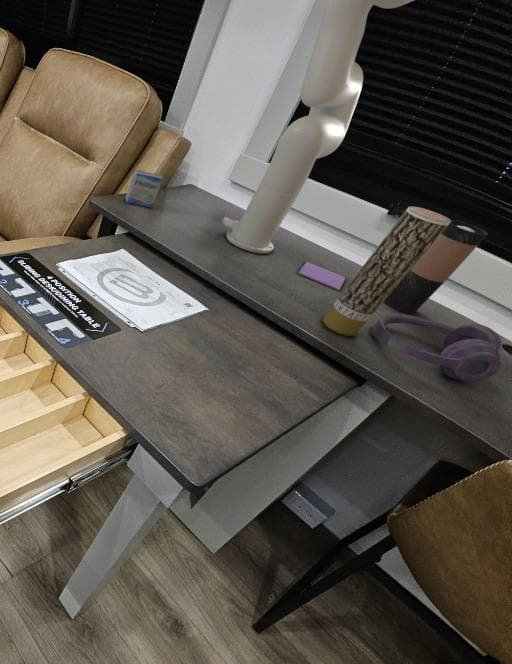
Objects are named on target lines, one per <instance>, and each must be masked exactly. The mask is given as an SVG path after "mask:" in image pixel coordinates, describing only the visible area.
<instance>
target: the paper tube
mask: <svg viewBox="0 0 512 664" xmlns="http://www.w3.org/2000/svg"><path fill="white" fill-rule="evenodd" d="M451 220H452V219H450V218H449V217H447V216H445V215H443V214H441V213H438V212H436V211H433V210H430V209H426V208H424V207H419V206H408V207H407V208H406V210H405V211H403V213H402V214H401V216H400V217H399V219H398V220H397V221H396V222H395V224H394V225H393V226H392V228H391V229H390V231H389V232H388V233H387V234H386V236H385V237H384V238H383V239H382V240H381V242H380V243H379V245H378V246H377V247H376V248H375V250H374V251H373V253H372V254H371V255H370V256H369V258H368V259H367V260H366V261H365V263H364V264H363V265H362V266H361V268H360V270H359V271H358V272H357V273H356V274H355V276H354V277H353V279H352V280H351V281H350V283H349V284H348V285H347V286H346V287H345V289H344V290H343V292H342V293H341V294H340V296H339V297H338V298H337V300H336V301H335V302H334V304H333V305H332V306H331V308H330V309H329V310H328V312H327V313H326V314H325V316H324V317H323V318H322V323H323V325H324V326H325V327H326V328H328V329H329V330H330V331H332V332H333V333H336V334H339V335H340V336H341V335H342V336H346V337H351V336H354V335H356V334H357V333H358V332H359V331H360V330H361V329H362V328H363V326H365V324H366V323H367V322H368V320H370V318H371V317H372V316H373V315H374V313H375V312H377V310H378V309H379V308H380V306H381V305H383V303H385V301H384V300H385V299H386V298H387V297H388V296H389V295H390V293H391V292H392V291H393V290H394V289H395V288H396V286H397V285H398V284H399V283H400V282H401V280H402V279H403V278H404V277H405V276H406V275H407V273H408V272H409V271H410V270H411V269H412V267H413V266H414V265H415V264H416V263H417V262H418V260H419V259H420V258H421V257H422V256H423V254H424V253H425V252H426V251H427V250H428V249H429V247H430V246H431V245H432V244H433V243H434V242H435V240H436V239H437V238H438V237H439V236H440V234H441V233H442V232H443V231H444V230H445V229H446V227H447V226H448V225H449V223H450V222H451Z"/></svg>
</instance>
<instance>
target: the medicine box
mask: <svg viewBox="0 0 512 664" xmlns="http://www.w3.org/2000/svg"><path fill="white" fill-rule="evenodd" d="M131 177H132V178H131V181H130V184H129V185H128V189H127V193H126V195H125V202H126V204H129V205H133V206H138V207H143V208H147V209H152V208H153V206H154V203H155V200H156V198H157V196H158V193H159V191H160V187H161V185H162V182H163V176H162V174H158V173H152V172H150V171H149V172H148V171H144V170H140V169H134V172H133V175H132V176H131Z"/></svg>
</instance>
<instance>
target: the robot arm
mask: <svg viewBox="0 0 512 664" xmlns="http://www.w3.org/2000/svg"><path fill="white" fill-rule="evenodd" d="M414 1H415V0H327V3H326V6H325V8H324V11H323V14H322V19H321V22H320V25H319V29H318V32H317V36H316V39H315V42H314V45H313V47H312V51H311V55H310V58H309V61H308V65H307V68H306V71H305V73H304V78H303V81H302V83H301V88H300V92H299V93H300V99H301V102H302V103H303V104H304V105H305V106H306V107H309V108H310V110H309V113H308V115H305V116H303V117H299V118H298V119H296V120H294V121H293V122H292V123H291V124H290V125H288V126H287V127H286V128H285V130H283V133H282V134H281V136H280V138H279V140H278V142H277V145H276V147H275V151H274V153H273V155H272V157H271V160H270V162H269V165H268V167H267V168H266V171H265V172H264V175H263V176H262V179H260V180H261V181H260V183H259V185H258V186H257V188H256V190H255V192H254V194H253V196H252V198H251V200H250V202H249V204H248V206H247V208H246V210H245V211H244V213H243V215H242V217H241V219H240V220H238V219H236V220H234V219H232V218H230V217H227V216H224V217H223V219H222V221H221V225H222V226H223V227H224V228H228V229H230V230H228V231H227V232H226V236H225V237H226V239H227V241H228V242H230V243H231V244H232V245H234V246H236V247H238V248H240V249H242V250H245V251H248V252H251V253H253V254H254V253H255V254H260V255H267V254H270V253H272V252H273V250H274V248H275V247H274V244H273V243H272V240H273V238H274V237H275V235H276V233H277V231H278V230H279V228H280V227H281V225H282V223H283V221H284V220H285V218H286V216H287V215H288V213H289V211H290V209H291V208H292V206H293V205H294V203H295V201H296V200H297V197H298V196H299V194H300V192H301V191H302V190H303V187H304V186H305V184H306V182H307V180H308V178H309V176H310V174H311V171H312V169H313V167H314V165H315V162H316V161H317V159H321V158H324V157H327V156H329V155H330V154H332V153H333V152H335V151H336V150H337V149H338V148H339V147H340V145H341V144H342V142H343V140H344V139H345V136H346V134H347V131H348V129H349V126H350V122H351V120H352V117H353V115H354V113H355V112H354V111H355V109H356V107H357V104H358V100H359V98H360V95H361V92H362V88H363V83H364V72H363V69H362V67H361V66H360V65H359V64H358V63H357V62H356V56H357V54H358V51H359V48H360V46H361V42H362V40H363V36H364V33H365V29H366V24H367V19H368V15H369V12H370V11H371V9H372V7H373V6H376V7H378V8H381V9H396V8H398V7H402V6H404V5H407V4H409V3H411V2H414Z"/></svg>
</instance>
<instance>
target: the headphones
mask: <svg viewBox="0 0 512 664" xmlns="http://www.w3.org/2000/svg"><path fill="white" fill-rule="evenodd" d="M390 324H391V325H392V324H408V325H414V326H415V325H416V326H421V327H425V328H426V329H428V330H429V329H430V330H433V331H435V332H439V333H441V334H444V335H445V336H444V338H443V340H442V349H443V350H442V351H441V353H440V354H436V353H432V352H429V351H427V350H423V349H420V350H418V349H416V348H414V347H411V346H410V345H408V344H406V343H404V342H402V341H400V340H398V339H397V338H395V337H394V336H393V335H392V334H390V333H389V332H388V331H387V330H386V327H385V326H386V325H390ZM371 335H372V336H373V338H374V339H375V340H376V341H378V342H379V343H381V344H383V345H384V346H386V347H388V348H390V349H393V350H395V351H397V352H400V353H402V354H405V355H407V356H410V357H414V358H415V359H418V360H421V361H424V362H427V363H430V364H434V365H438V368H439V369H440V370H441V372H443V374H445V375H446V376H448V377H449V378H451V379H453V380H456V381H462V382H466V383H477V382H482V381H486V380H487V379H489V378H491V377H493V376H494V375H496V373H498V371H499V370H500V368H501V365H502V364H501V359H500V358H501V357H500V353H499V351H500V349H501V347H502V339H501V336H500V335H499V334H498V333H497V332H496V331H495V330H493V329H492V328H491V327H489V326H486V325H483V324H475V323H474V324H464V325H460V326H456V327H453V326H450V325H448V324H444V323H441V322H438V321H435V320H428V319H425V318H422V317H417V316H415V315H410V314H409V315H408V314H404V313H391V312H390V313H389V312H387V313H384V314H382V315H380V317H379V318H378V320H377V321H376V323H375V325H374V327H373V328H372V330H371Z"/></svg>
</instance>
